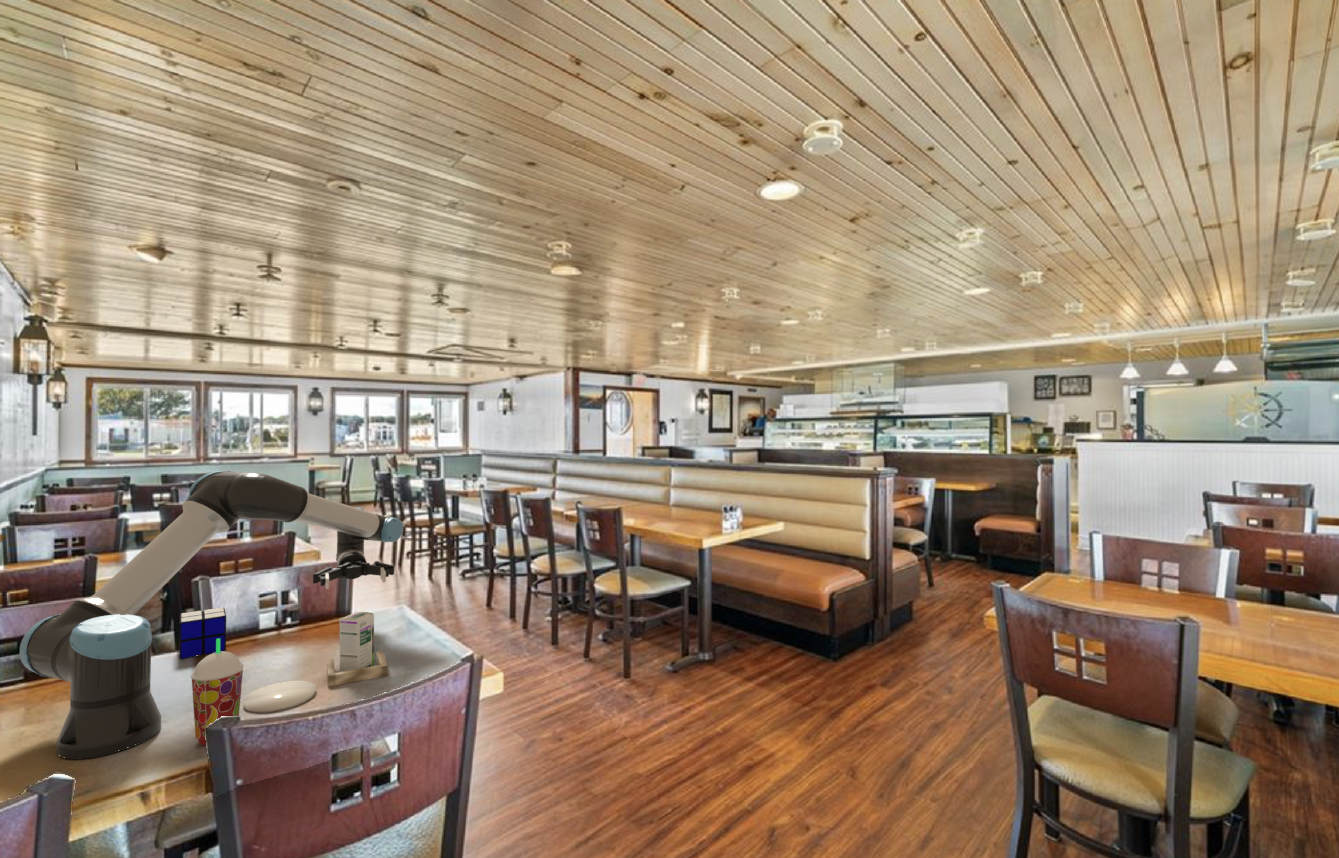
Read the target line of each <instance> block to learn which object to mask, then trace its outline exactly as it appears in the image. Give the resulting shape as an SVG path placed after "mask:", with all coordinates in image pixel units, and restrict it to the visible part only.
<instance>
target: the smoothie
mask: <svg viewBox="0 0 1339 858" xmlns="http://www.w3.org/2000/svg"><path fill="white" fill-rule="evenodd" d="M243 671H244V664H243V663H242V662H241V660H240V658H239V657H238V656H237V655H235V654H234V653H232V652H230V651H227V650H226V651H220V638H218V639H216V652H215V653H212V654H207V655H206V656H205V657H204V658H202V659H201V660H200V661H199V662H198V663H197V664H196V667H195V669H194V671H193V672H192V673H191V675H190V678H191V689H192V691H191V692H192V704H193V718H194V719H193V720H194V732H195V735H194V736H195V739H196V740H197V741H198V743H199V745H200V744H202V745H201V746H205V747H207V746H206V740H205V729H206V727H207V726H208V725H209V724H210V723H213V722H214V721H215V720H216V719H218V718H220V717H221V716H239V717H240V710H241V709H240V708H241V697H242V696H241V695H242V686H243V684H242V683H243Z"/></svg>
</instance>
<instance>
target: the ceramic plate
mask: <svg viewBox="0 0 1339 858" xmlns="http://www.w3.org/2000/svg"><path fill="white" fill-rule="evenodd" d="M316 693H317V686H316V684H315V683H313V682H311V681H307V680H289V681H282V682H278V683H277V682H276V683H273V684H268V685H266V686H263V687H260V688H258V689H255V690H254V691H251V692H249V693H248V694H247V695H246V696H245V697H244V698H243V703H242V707H243V709H244V710H245V711H248V712H252V713H271V712H272V713H273V712H279V711H283V710H286V709H291V708H294V707H296V706H299V705H301V704H304V703H306V702H308V701H309V700H310V699H312V698H314V696H315V695H316ZM278 710H279V711H278Z"/></svg>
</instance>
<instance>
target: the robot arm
mask: <svg viewBox="0 0 1339 858" xmlns="http://www.w3.org/2000/svg"><path fill="white" fill-rule="evenodd" d="M188 494H189V495H188V496H187V499H186V500H185V501H184V502H183V503H182V513H181V514H179V515H178V517H176V518H175V520H173V521H172V522H171V523H170V524H169V525H168V526H166V528H165V529H164V530H163V531H162V532H161V533H159V534H158V535H157V536H156V537H155V538H154V539H152V541H151V542H149V544H147V545H146V546H145V547H144V548H143V549H142V550H141V551H140V552H139V553H137V554H136V555H135V556H134V557H133V558H132V559H131V560H130V561H129V562H128V563H127V564H125V566H124V567H122V568H121V569H120V570H119V571H117V573H116V574H115V575H113V577H111V578H110V579H109V580H108V581H107V582H105V584H104V585H103V586H102V587H100V589H99V590H97V592H95V593H94V594H92V596H89V597H84V598H78V599H76V600H75V601H73V603H71V604H70V605H69V606H68V607H66V609H65V610H64V611H63V612H61V613H59V614H54V615H51V616H48V617H46V618H43V619H42V620H39V621H37V622H36V623H35V624H34V625H33V626H31V628H29V629H28V630H27V632H26V633H25V634H24V636H23V638H22V639H21V642H20V645H19V658H20V661H21V664H22V665H23V666H24V668H26V669H28V670H29V671H31V672H33V673H35V674H37V675H39V676H41V677H44V678H50V679H51V678H53V679H56V680H61V681H65V682H68V683H70V687H69V688H70V689H69V690H70V693H69V694H70V696H69V697H70V698H69V699H70V703H69V705H70V707H69V711H68V714H67V716H66V718H65V720H64V724H63V726H62V728H61V730H60V733H59V735H58V737H57V740H56V755H57V754H58V755H60V756H61V757H65V758H71V759H70V760H84V759H83V758H86V759H92V757H93V758H97V757H103V756H107V754H108V755H111V753H112V754H115V753H116V752H115V751H118V750H122V749H125V748H127V747H130V748H132V747H131V746H133V745H135V744H138V743H140V742H142V741H144V740H146V741H147V739H148V738H149V739H151V738H152V737H154V736H155V735H156V734H158V733H159V732H160V730H161V729H162V715H161V713H160V709H159V708H158V706H157V703H156V701H155V699H154V697H153V694H152V691H151V679H152V678H151V674H152V673H151V669H152V668H151V667H152V662H151V661H152V642H153V634H152V628H151V623H150V622H149V620H148V619H147V618H145V617H143V616H140V615H136V614H137V613H138V612H139V611H140V610H141V609H142V608H143V607H144V606H145V605H146V604H147V603H148V602H149V601H150V600H151V599H152V598H153V597H154V596H155V595H156V594H157V593H158V592H159V591H160V590H161V589H162V588H163V587H164V586H165V585H166V584H167V583H168V582H169V581H170V580H171V579H172V578H173V577H174V576H175V575H176V574H177V573H178V572H179V571H180V570H181V569H182V568H183V567H184V566H185V565H186V564H187V563H188V562H189V561H190V560H191V559H192V558H193V557H194V556H195V555H196V554H197V553H198V552H200V550H201V549H202V548H203V547H204V546H205V545H207V543H208V542H209V541H210V540H211V539H212V538H213V537H214V536H215V535H217V534H223V533H227V532H228V531H229V530H230V529H231V528H232V527H233V526H234V525H235V524H236V523H237V522H238V521H240V520H241V519H242V520H243V519H244V520H264V521H265V520H267V521H268V520H269V521H277V522H278V521H279V522H283V523H293V522H299V523H303V524H304V523H305V524H308V525H312V526H316V527H320V528H324V529H328V530H333V531H336V538H337V539H336V555H335V560H336V563H337V567H335V568H334V567H333V566H332V565H326V566H325V568H323V569H320V570H318V571H317V572H315V573H313V574H312V584H318V583H320V586H321V587H324V586H325V590H329V589H330V582H331V581H334V580H337V579H346V580H356V579H359V578H360V577H362V576H363V577H364V576H368V575H369V576H370V575H371V576H379V577H380V579H381V581H382V583H386V581H387V579H386V578H388V577H390V576H393V575H395V565H393V564H387V563H383V562H381V561H378V560H376V561H374V562H373V563H372V564H370V562H367V560H366V557H365V541H373V542H382V543H395V542H396V541H399V539H400V538H401V537H402V536H403V532H404V524H403V522H402V521H401V519H400V518H398V517H393V516H384V515H380V514H377V513H374V512H371V511H368V510H365V509H364V508H363V507H355V506H351V505H348V504H345V503H342V502H339V501H335V500H331V499H328V498H326V497H325V498H324V497H321V496H319V495H314V494H312V493H309V492H308V490H307V489H306V488H304V487H303V486H299V485H296V484H294V483H291V482H288V481H285V480H282V479H280V478H277V477H274V476H271V475H268V474H264V473H261V472H244V471H243V472H240V471H233V470H232V471H231V470H219V471H212V472H208V473H206V474H204V475H202V476H199V478H197V479H196V480H195V481H194V482H193V483H192V484H191V486H190V488H189V490H188ZM150 737H151V738H150ZM149 739H148V740H149ZM144 742H145V741H144ZM142 743H143V742H142ZM140 744H141V743H140ZM138 745H139V744H138ZM135 746H136V745H135ZM133 747H134V746H133ZM125 750H126V749H125ZM122 751H123V750H122ZM114 752H115V753H114ZM118 752H119V751H118ZM58 755H57V756H58ZM61 757H60V758H61ZM65 758H64V759H65ZM79 758H81V759H79Z"/></svg>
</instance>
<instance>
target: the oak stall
mask: <svg viewBox="0 0 1339 858" xmlns="http://www.w3.org/2000/svg"><path fill="white" fill-rule="evenodd" d="M376 664H377V665H374V666H371V667H366V668H360V669H354V670H349V671H343V672H340V671H339V672H336V669H335V658H331V659H326V668H327V669H326V674H327V676H326V677H327V678H326V679H327V687H328V688H329V687H334V686H340V685H344V684H351V683H356V682H361V681H367V680H371V679H379V678H382V677H388V667H389V666H388V662H387V660H386V656H385V652H384V650H380V651H376Z"/></svg>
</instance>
